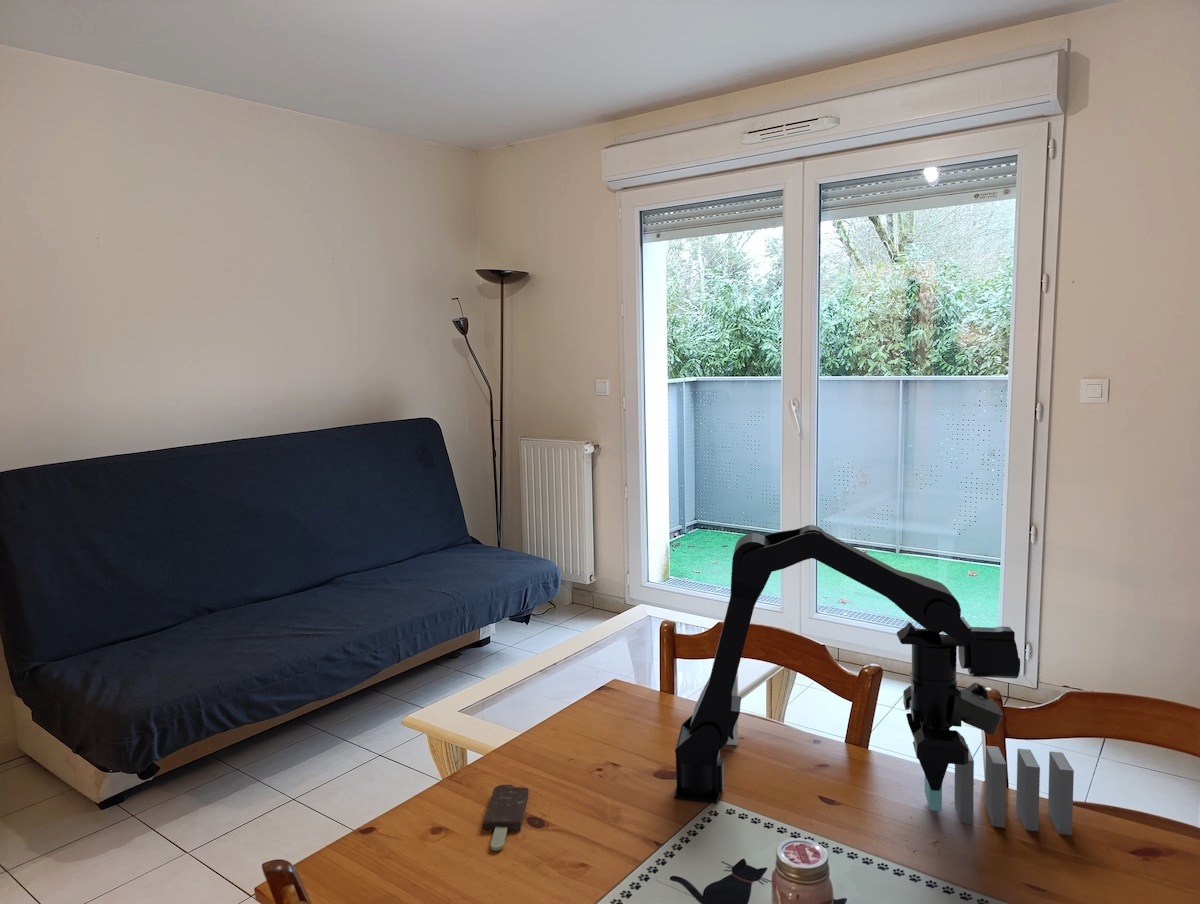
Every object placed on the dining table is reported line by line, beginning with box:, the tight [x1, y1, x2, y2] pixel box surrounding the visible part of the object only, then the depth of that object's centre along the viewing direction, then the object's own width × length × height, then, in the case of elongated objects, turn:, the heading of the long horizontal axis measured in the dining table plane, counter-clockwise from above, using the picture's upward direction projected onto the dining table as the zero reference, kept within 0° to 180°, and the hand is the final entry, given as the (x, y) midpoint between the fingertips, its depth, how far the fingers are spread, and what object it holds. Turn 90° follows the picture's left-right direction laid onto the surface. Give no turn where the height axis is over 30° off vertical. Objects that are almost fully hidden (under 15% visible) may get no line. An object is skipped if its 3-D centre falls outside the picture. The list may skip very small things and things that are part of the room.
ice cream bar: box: [482, 784, 530, 852], centre depth 111 cm, size 5×2×15 cm
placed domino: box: [924, 775, 943, 812], centre depth 109 cm, size 2×5×9 cm, turn 164°
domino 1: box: [953, 744, 975, 825], centre depth 109 cm, size 2×5×9 cm, turn 164°
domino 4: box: [1047, 751, 1075, 836], centre depth 105 cm, size 2×5×9 cm, turn 164°
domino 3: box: [1015, 748, 1041, 832], centre depth 106 cm, size 2×5×9 cm, turn 164°
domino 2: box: [984, 745, 1007, 828], centre depth 107 cm, size 2×5×9 cm, turn 164°
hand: (932, 780), depth 110 cm, fingers closed on placed domino, 5 cm apart
